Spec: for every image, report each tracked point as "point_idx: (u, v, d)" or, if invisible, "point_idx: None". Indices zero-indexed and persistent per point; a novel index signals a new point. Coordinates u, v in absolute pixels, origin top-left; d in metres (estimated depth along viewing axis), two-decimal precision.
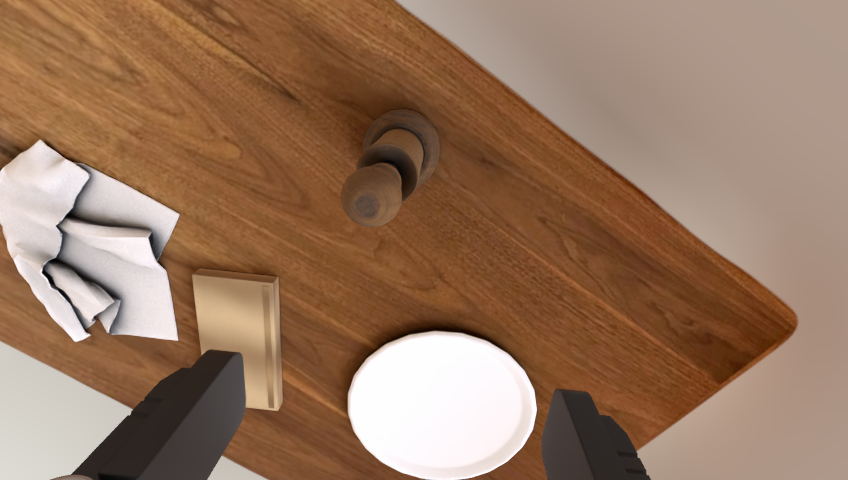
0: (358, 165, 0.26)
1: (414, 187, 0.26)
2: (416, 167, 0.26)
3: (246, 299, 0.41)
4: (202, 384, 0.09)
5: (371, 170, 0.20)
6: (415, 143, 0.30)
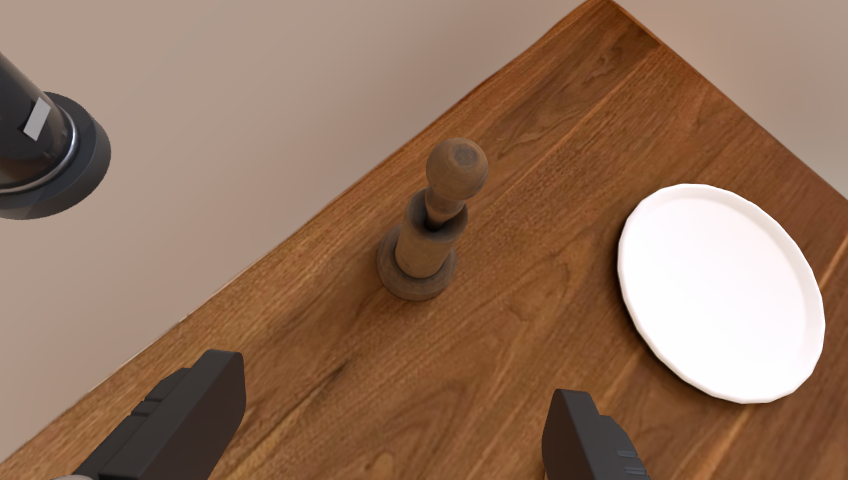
0: (424, 238, 0.25)
1: None
2: None
3: None
4: (202, 384, 0.09)
5: (430, 156, 0.20)
6: None
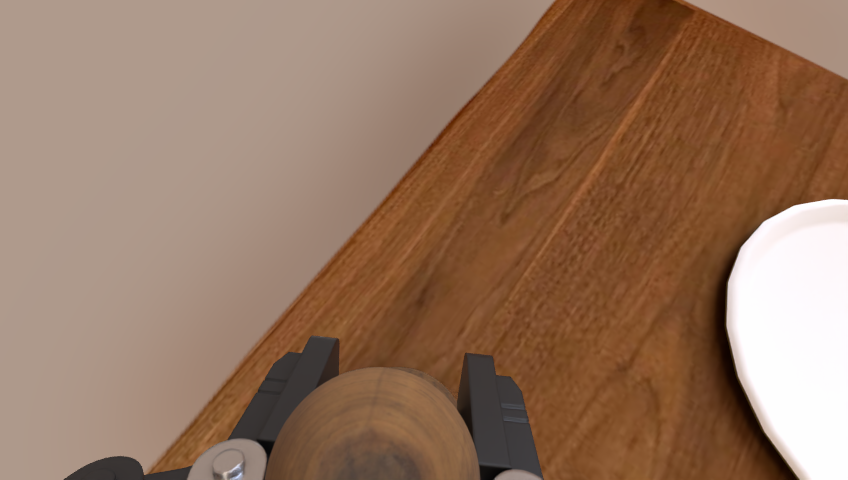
0: None
1: None
2: None
3: None
4: (317, 365, 0.10)
5: None
6: None
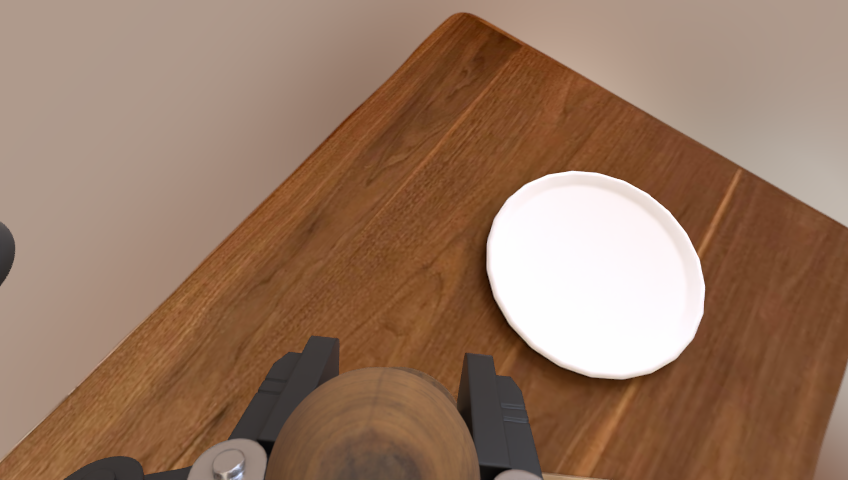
0: None
1: None
2: None
3: None
4: (317, 365, 0.10)
5: None
6: None
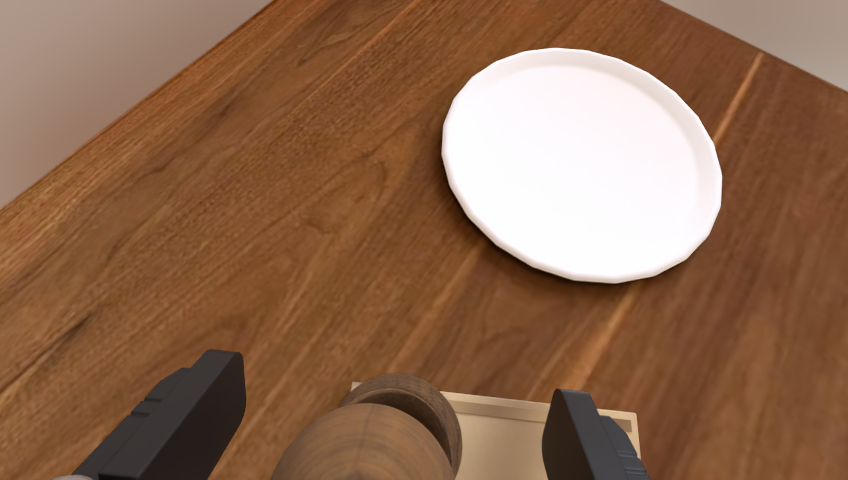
0: None
1: (415, 398, 0.12)
2: (372, 393, 0.12)
3: None
4: (202, 384, 0.09)
5: None
6: None
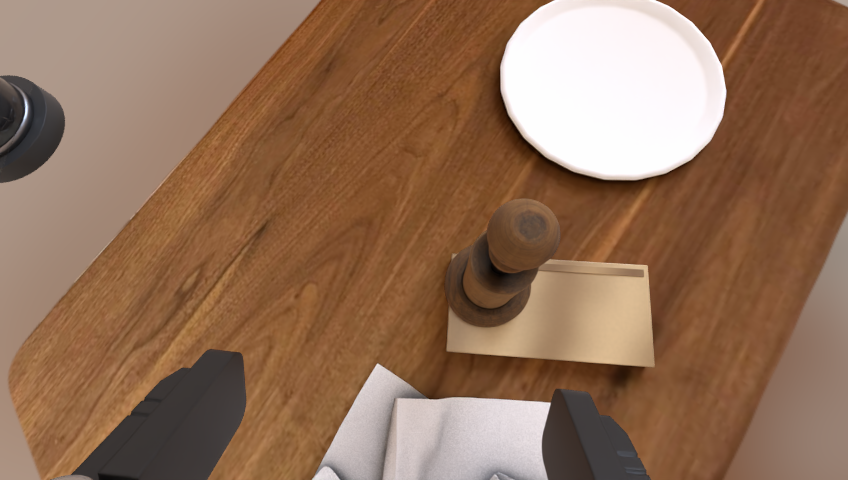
0: (496, 291, 0.22)
1: None
2: None
3: None
4: (202, 384, 0.09)
5: (490, 229, 0.17)
6: None
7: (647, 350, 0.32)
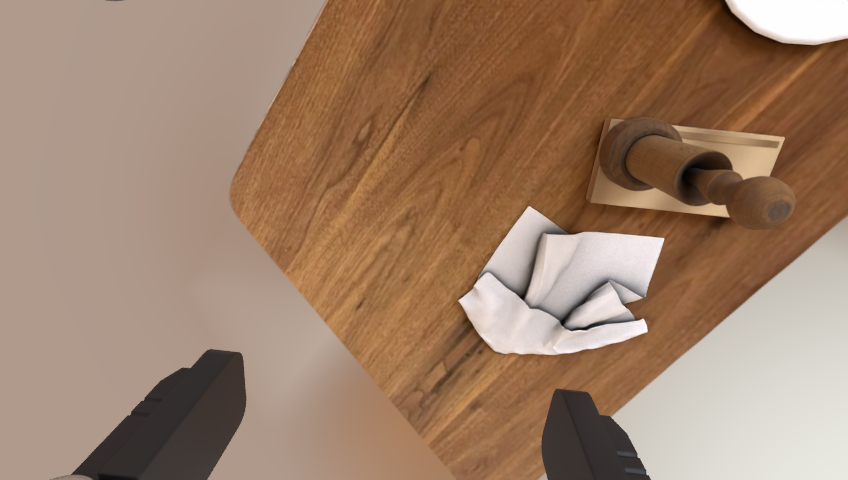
0: (688, 204, 0.29)
1: (721, 154, 0.28)
2: (703, 152, 0.28)
3: None
4: (202, 384, 0.09)
5: (739, 203, 0.23)
6: (654, 145, 0.33)
7: None
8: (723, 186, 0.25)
